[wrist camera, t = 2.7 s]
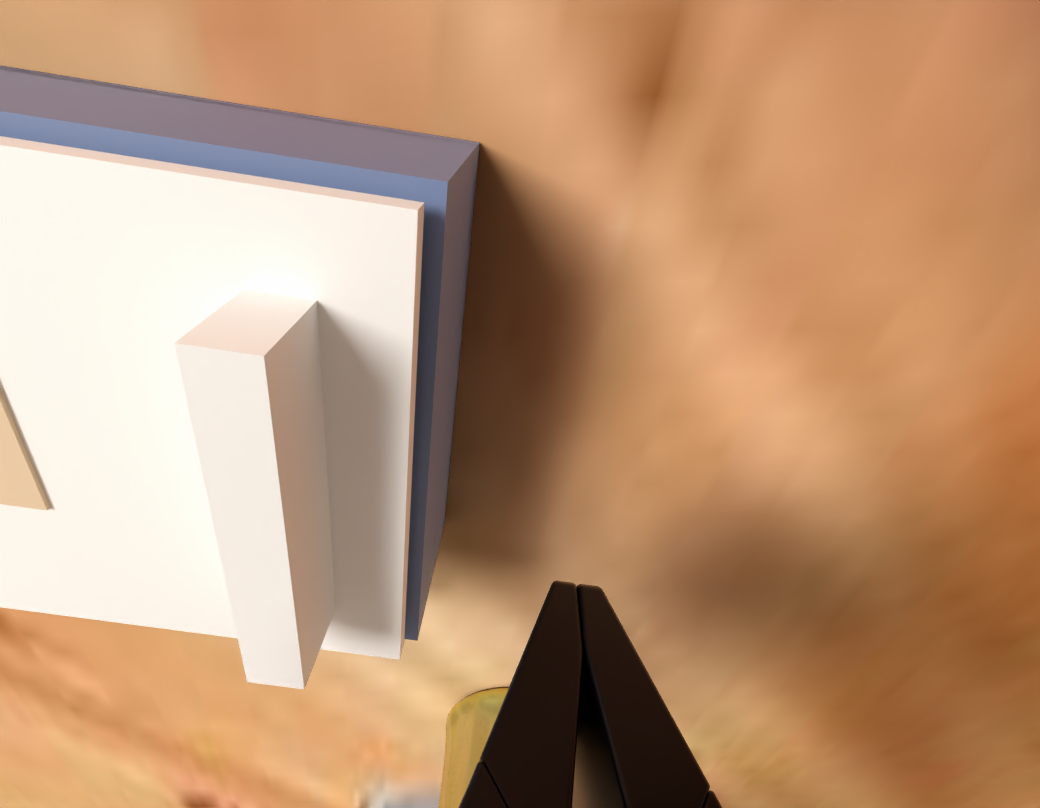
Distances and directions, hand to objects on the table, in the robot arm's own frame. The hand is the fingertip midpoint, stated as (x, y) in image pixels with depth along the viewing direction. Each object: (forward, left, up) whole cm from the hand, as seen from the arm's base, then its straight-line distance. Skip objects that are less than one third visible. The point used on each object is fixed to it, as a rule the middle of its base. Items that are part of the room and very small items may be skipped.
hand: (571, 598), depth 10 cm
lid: (+11, 0, -3) cm, 11 cm away
